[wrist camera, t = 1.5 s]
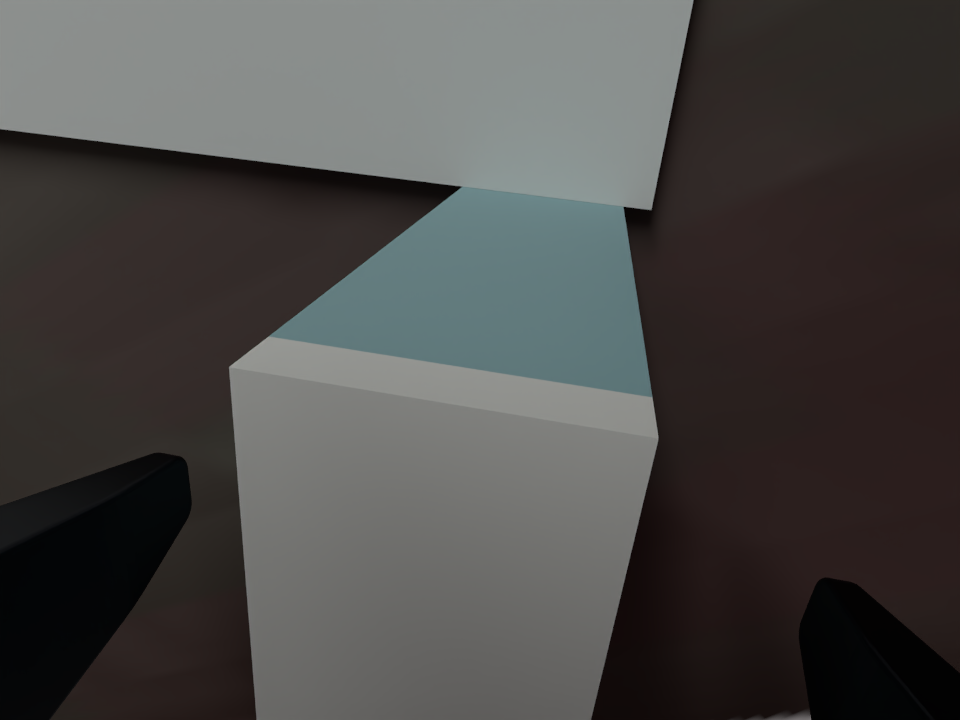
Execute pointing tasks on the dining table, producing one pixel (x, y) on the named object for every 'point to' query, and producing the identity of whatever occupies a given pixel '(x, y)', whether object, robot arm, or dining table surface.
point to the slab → (448, 470)
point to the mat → (363, 85)
